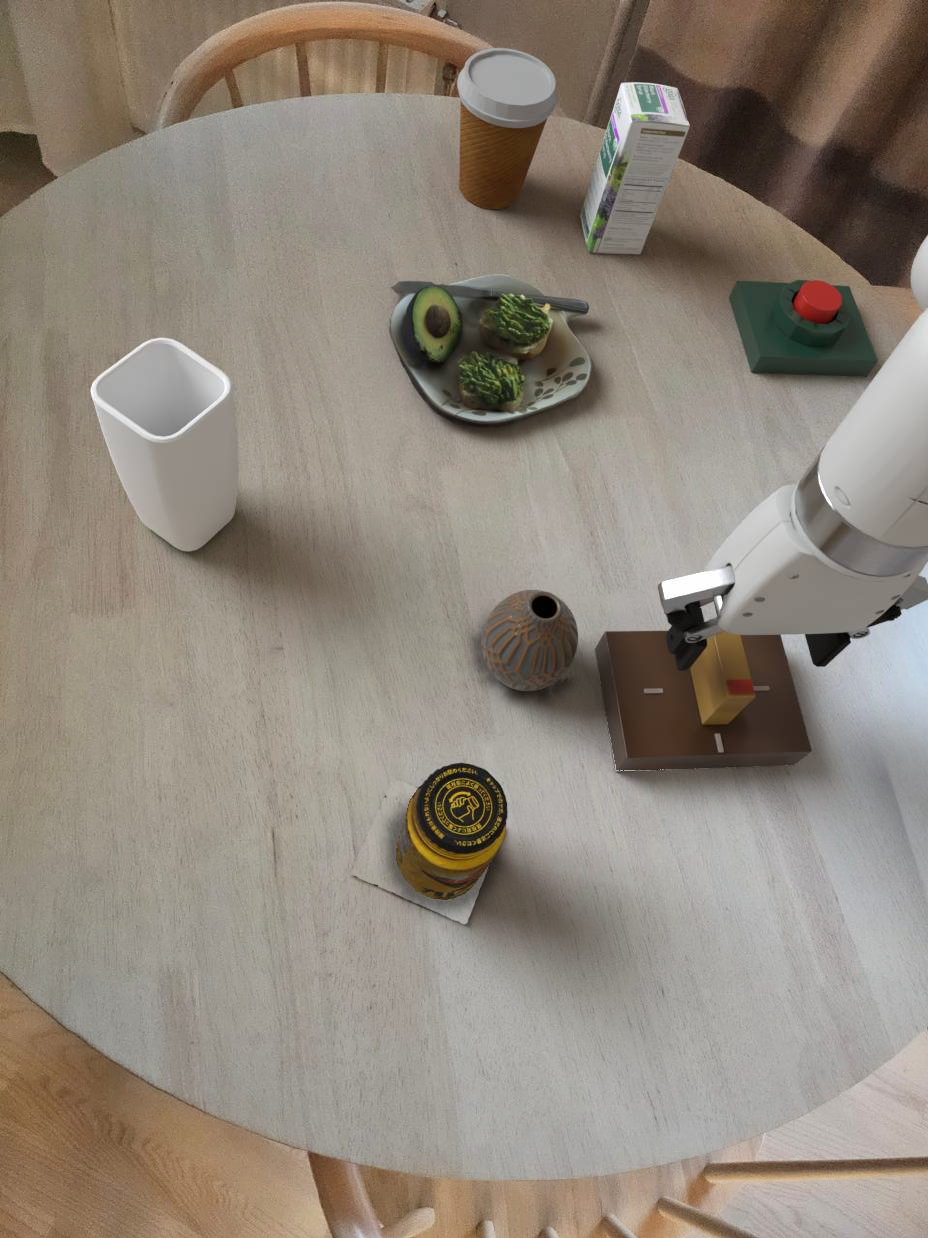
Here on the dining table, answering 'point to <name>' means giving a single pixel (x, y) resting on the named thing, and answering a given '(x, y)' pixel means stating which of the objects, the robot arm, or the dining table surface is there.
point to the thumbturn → (722, 679)
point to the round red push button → (817, 301)
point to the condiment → (451, 830)
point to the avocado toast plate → (488, 348)
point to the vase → (530, 640)
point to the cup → (172, 439)
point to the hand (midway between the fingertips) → (746, 649)
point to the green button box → (799, 333)
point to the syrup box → (633, 167)
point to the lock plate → (695, 708)
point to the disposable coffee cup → (501, 122)
